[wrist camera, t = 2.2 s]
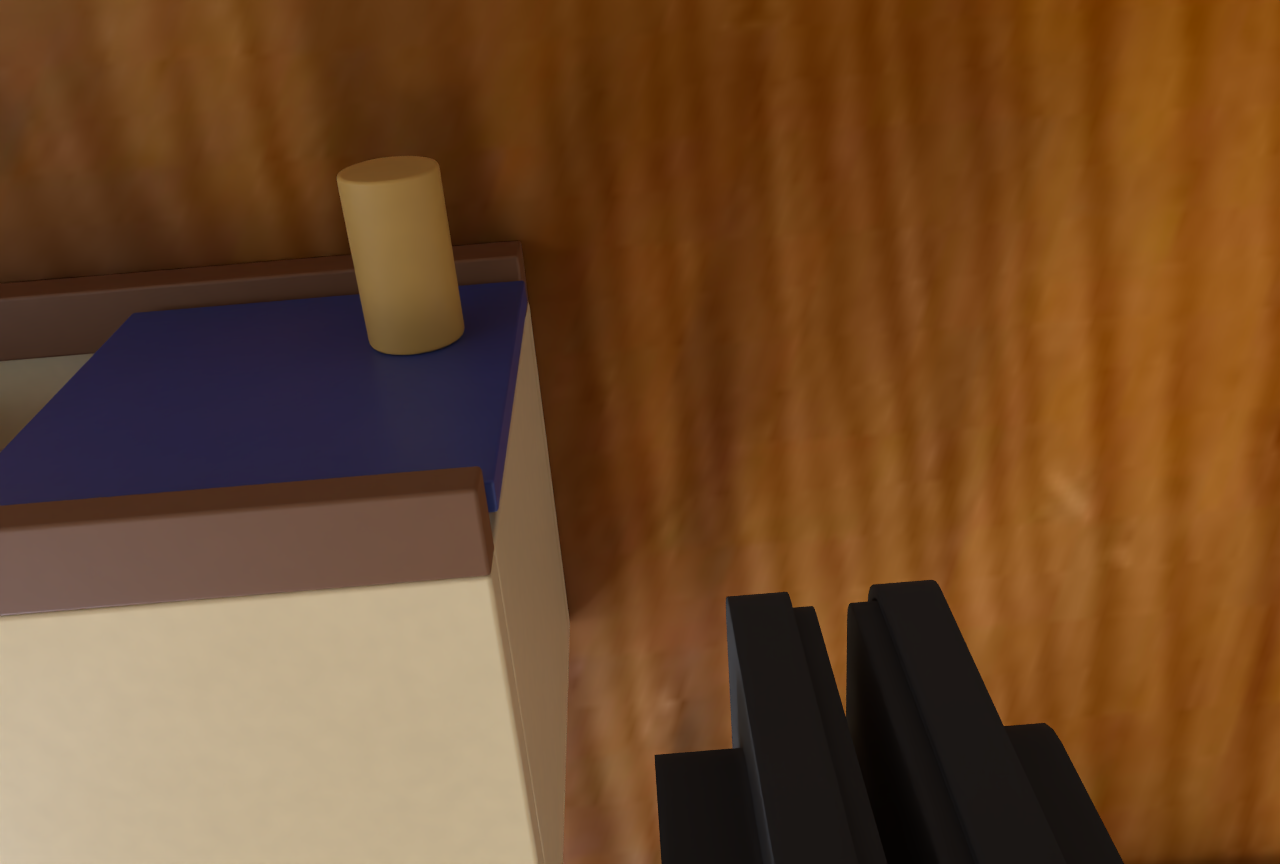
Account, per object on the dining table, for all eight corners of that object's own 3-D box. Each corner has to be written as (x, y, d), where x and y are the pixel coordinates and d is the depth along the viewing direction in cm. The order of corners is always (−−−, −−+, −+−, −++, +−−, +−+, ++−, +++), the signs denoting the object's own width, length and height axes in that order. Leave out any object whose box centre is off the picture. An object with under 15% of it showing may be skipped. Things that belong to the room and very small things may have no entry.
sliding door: (86, 159, 25) (-164, 321, 17) (504, 124, 25) (461, 269, 17) (139, 335, 27) (-61, 559, 19) (527, 304, 27) (498, 513, 19)
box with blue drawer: (-216, 300, 28) (-711, 588, 17) (521, 239, 28) (477, 489, 17) (-48, 674, 33) (-347, 1068, 23) (570, 623, 33) (559, 994, 23)
